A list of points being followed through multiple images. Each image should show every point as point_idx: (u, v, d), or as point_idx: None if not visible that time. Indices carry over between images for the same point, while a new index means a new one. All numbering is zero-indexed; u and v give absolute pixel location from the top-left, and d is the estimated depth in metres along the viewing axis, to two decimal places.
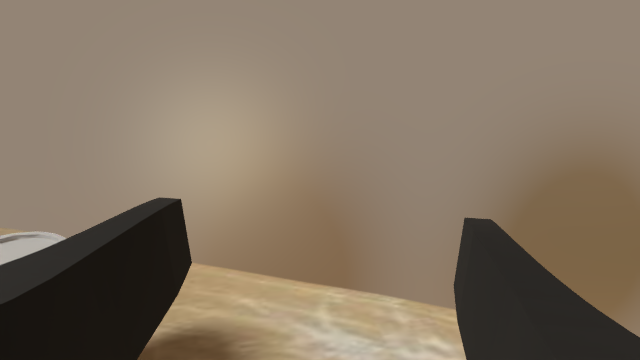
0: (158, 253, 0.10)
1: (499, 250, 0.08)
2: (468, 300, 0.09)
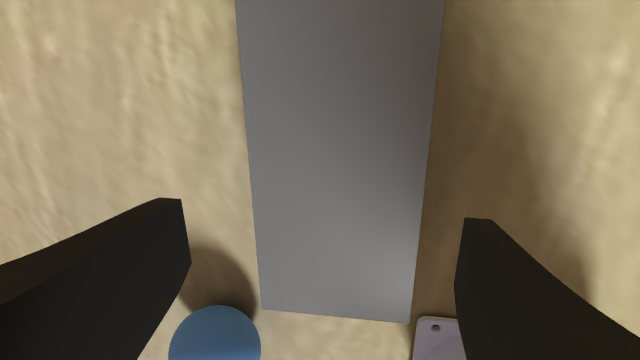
0: (158, 253, 0.10)
1: (499, 250, 0.08)
2: (468, 300, 0.09)
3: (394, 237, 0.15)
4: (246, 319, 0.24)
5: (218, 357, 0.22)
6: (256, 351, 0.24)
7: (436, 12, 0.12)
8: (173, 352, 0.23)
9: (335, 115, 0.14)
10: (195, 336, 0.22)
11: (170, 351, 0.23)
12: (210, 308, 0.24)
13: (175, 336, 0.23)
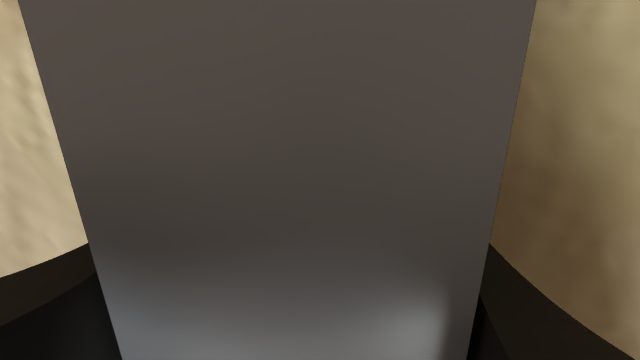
0: None
1: None
2: None
3: None
4: None
5: None
6: None
7: (501, 83, 0.05)
8: None
9: (275, 279, 0.07)
10: None
11: None
12: None
13: None
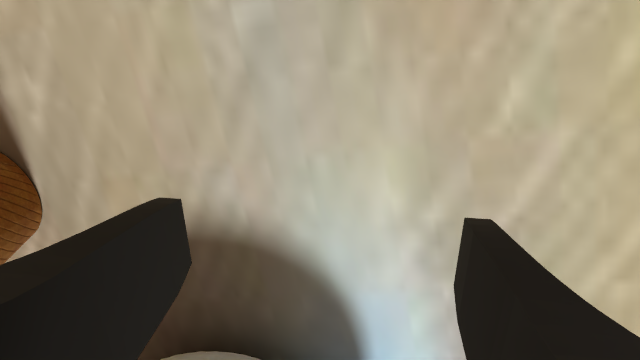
0: (158, 252, 0.10)
1: (499, 250, 0.08)
2: (468, 300, 0.09)
3: None
4: None
5: None
6: None
7: None
8: None
9: None
10: None
11: None
12: None
13: None
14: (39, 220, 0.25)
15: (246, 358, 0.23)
